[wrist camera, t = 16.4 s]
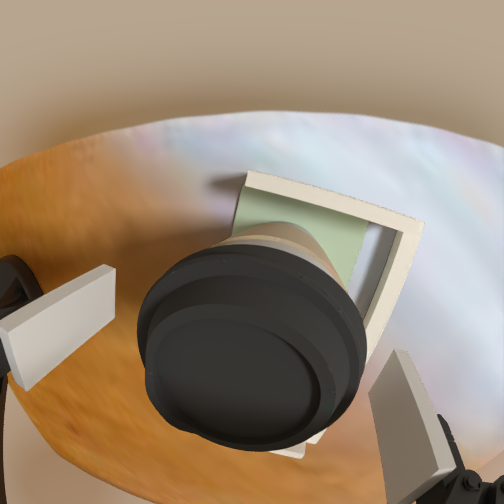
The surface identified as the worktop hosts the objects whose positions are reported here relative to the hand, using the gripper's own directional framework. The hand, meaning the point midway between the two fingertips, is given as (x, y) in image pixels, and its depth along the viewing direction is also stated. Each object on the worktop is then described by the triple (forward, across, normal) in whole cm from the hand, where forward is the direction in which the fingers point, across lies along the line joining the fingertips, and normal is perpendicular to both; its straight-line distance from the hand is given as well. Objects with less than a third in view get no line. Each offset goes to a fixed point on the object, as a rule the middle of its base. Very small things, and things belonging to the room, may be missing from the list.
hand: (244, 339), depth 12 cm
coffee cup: (+11, +1, 0) cm, 11 cm away
